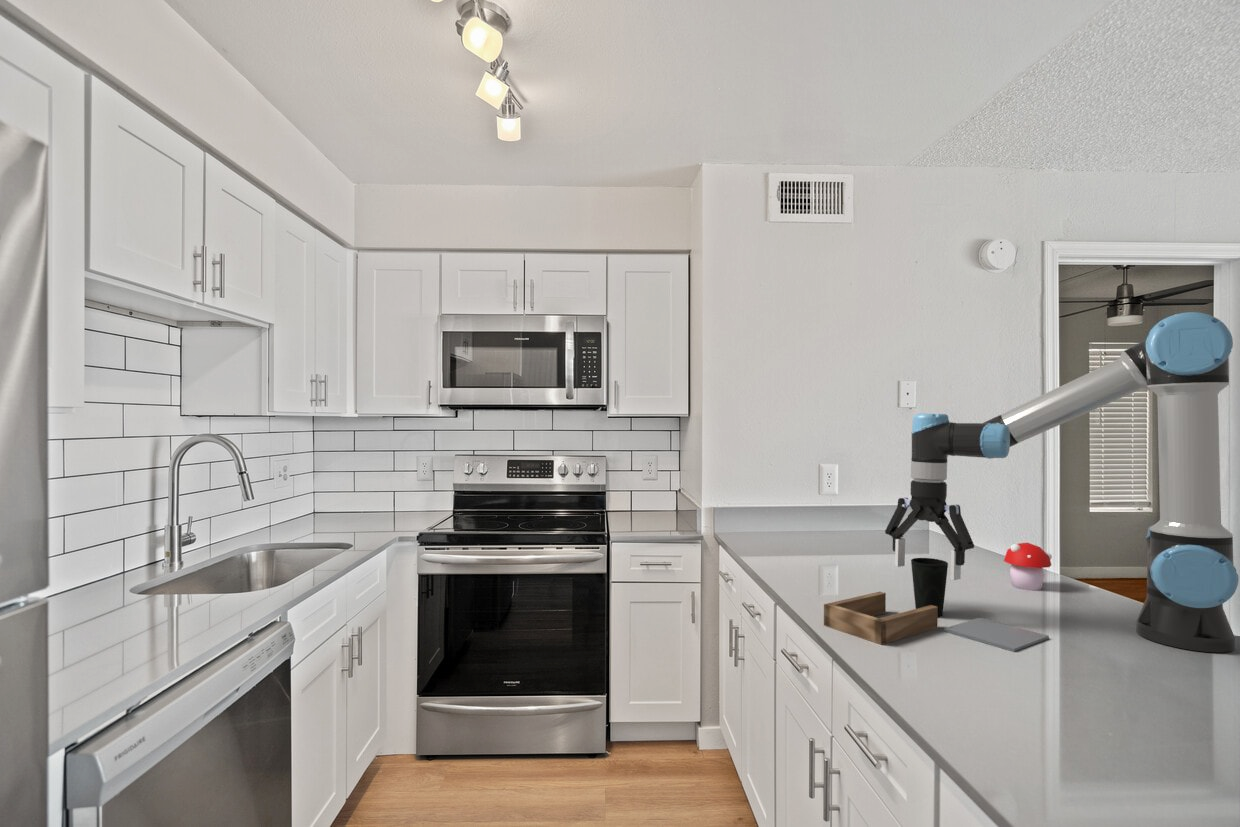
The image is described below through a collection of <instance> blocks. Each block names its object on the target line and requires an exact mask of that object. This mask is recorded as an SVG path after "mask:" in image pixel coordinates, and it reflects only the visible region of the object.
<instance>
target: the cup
mask: <svg viewBox="0 0 1240 827" xmlns="http://www.w3.org/2000/svg"><path fill="white" fill-rule="evenodd" d="M910 564H911V565H910V566H911V575H912V585H913V595H914V596H913V597H914V607H915V609H918V608H921V607H925V606H929V605H933V606H937V607H938V618H940V617H941V618H942V617H943V615H944V604H945V597H946V596H945V595H946V587H947V576H948V568H949V563H948V562H947V561H945V560H942V559H938V558H931V557H914V558H911V559H910Z"/></svg>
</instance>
